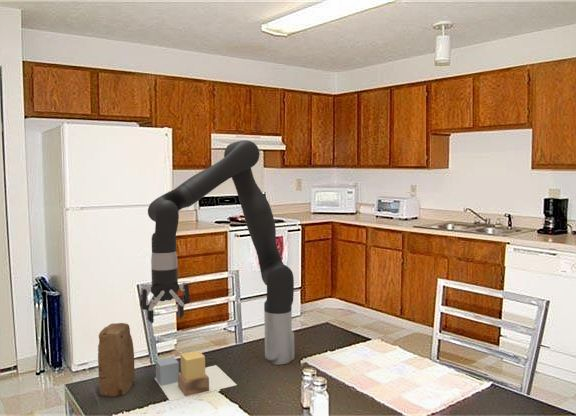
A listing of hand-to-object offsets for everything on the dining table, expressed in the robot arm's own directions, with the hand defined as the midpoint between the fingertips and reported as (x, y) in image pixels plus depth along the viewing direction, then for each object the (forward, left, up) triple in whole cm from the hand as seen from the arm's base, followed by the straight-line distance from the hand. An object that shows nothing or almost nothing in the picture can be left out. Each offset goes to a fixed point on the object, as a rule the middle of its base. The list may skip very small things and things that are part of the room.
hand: (165, 320), depth 148 cm
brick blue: (0, 0, -19) cm, 19 cm away
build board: (-7, +5, -20) cm, 22 cm away
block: (+14, -2, -20) cm, 25 cm away
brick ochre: (-5, +9, -15) cm, 18 cm away
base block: (-5, +9, -19) cm, 22 cm away
